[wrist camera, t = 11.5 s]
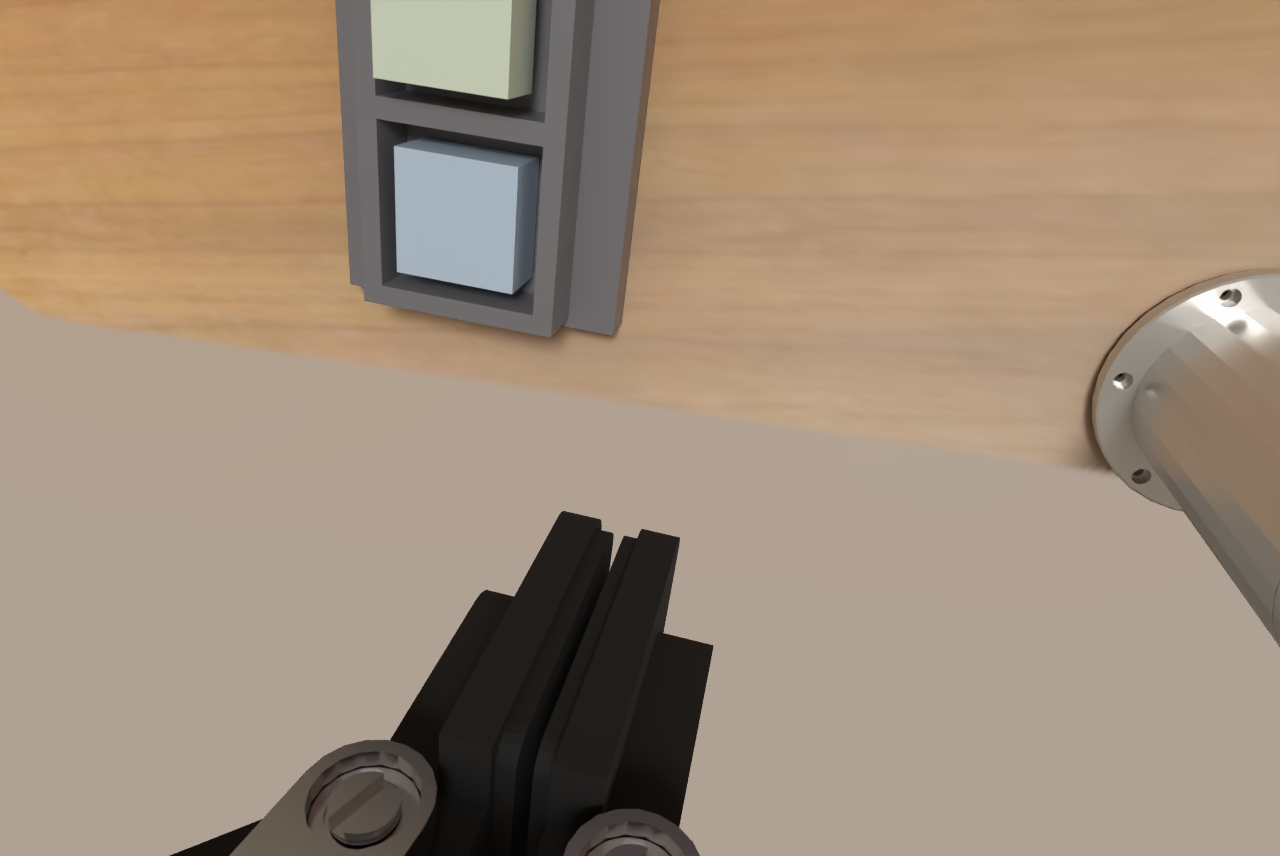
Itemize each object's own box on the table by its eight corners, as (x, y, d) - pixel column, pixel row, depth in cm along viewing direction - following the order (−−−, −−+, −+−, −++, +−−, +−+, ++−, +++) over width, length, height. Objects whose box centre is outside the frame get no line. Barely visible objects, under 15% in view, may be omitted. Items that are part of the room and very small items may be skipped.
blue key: (539, 157, 39) (518, 167, 36) (532, 276, 41) (512, 294, 39) (422, 137, 39) (394, 145, 37) (423, 256, 42) (396, 272, 40)
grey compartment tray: (706, -394, 30) (684, -463, 26) (621, 323, 44) (598, 357, 40) (339, -422, 32) (262, -490, 28) (368, 274, 46) (320, 301, 42)
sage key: (540, -64, 33) (514, -70, 30) (531, 93, 36) (507, 99, 33) (403, -82, 34) (367, -90, 31) (406, 73, 36) (373, 77, 34)
